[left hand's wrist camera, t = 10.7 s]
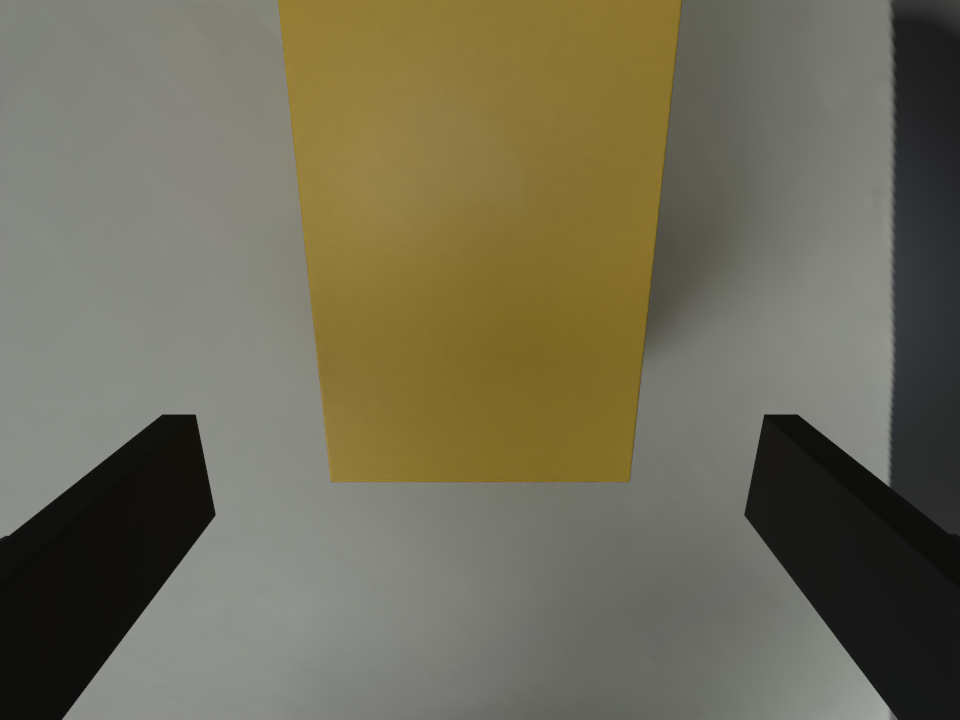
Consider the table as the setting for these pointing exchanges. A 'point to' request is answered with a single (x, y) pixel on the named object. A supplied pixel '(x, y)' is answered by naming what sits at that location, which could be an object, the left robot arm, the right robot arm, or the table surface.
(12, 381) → the table surface
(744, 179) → the table surface
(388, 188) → the yellow two-tone block
